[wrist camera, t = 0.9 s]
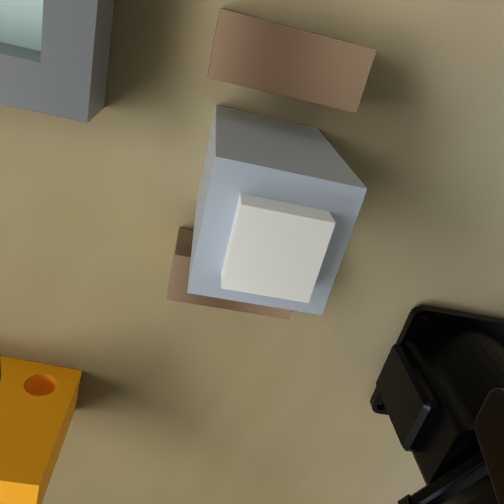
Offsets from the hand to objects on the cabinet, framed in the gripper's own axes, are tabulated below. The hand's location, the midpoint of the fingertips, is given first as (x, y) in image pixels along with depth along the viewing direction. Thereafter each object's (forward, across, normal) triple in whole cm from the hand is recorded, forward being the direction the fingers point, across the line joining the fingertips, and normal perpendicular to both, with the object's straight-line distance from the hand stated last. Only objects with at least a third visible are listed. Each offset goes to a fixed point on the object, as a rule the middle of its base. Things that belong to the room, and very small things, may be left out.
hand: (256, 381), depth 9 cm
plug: (+12, -1, -1) cm, 12 cm away
